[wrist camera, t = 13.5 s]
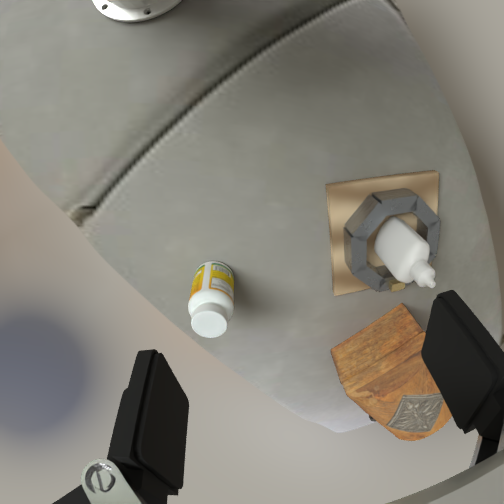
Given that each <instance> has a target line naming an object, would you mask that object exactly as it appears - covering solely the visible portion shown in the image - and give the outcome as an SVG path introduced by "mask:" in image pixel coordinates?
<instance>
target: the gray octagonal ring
mask: <svg viewBox="0 0 504 504" xmlns="http://www.w3.org/2000/svg"><path fill="white" fill-rule="evenodd" d="M371 195H372V196H371ZM371 195H370V194H369V195H368V196H367V197H366V198H365V200H364V201H363V202H362V203H361V205H360V206H359V207H358V208H357V210H356V211H355V212H354V213H353V214H352V216H351V217H350V218H349V219H348V221H347V222H346V223H345V224H344V225H345V226H346V227H343V233H344V259H345V263H346V265H347V266H348V268H349V270H350V271H351V273H352V275H353V276H355V277H356V278H358V279H359V280H361V281H362V282H363V283H365V284H366V285H368V286H369V287H371V288H372V289H374V290H375V291H379V292H380V291H385V290H389V289H390V290H391V292H394V291H398V290H402V289H405V285H409V284H410V283H411V282H410V283H403V282H400V281H398V280H397V279H396V278H395V277H394V276H393V275H392V273H391V272H390V271H389V269H388V268H387V267H386V266H385V265H383V266H378V267H375V266H374V265H372V264H371V263H370V262H368V261H367V260H366V259H367V239H368V237H369V236H370V235H371V234H372V233H373V231H374V230H375V229H376V228H377V227H378V225H379V224H380V223H381V222H382V221H383V219H384V218H385V217H386V216H389V215H395V214H401V213H406V212H411V213H412V214H413V215H414V216H415V217H416V218H417V229H416V232H417V233H418V234H419V235H420V236H421V237H422V238H423V239H424V240H425V241H426V242H427V243H428V244H429V248H430V251H429V258H428V262H427V263H428V264H430V262H431V261H432V260H433V259H434V258H435V257H436V256H435V254H437V248H438V240H439V231H440V220H439V219H440V218H439V217H438V216H437V215H436V214H435V213H434V211H433V210H432V209H431V208H430V207H429V206H428V205H427V204H426V203H425V202H424V201H423V199H422V198H421V197H420V196H418V195H417V194H416V193H414V192H413V191H411V190H410V189H407V188H399V189H392V190H385V191H379V192H372V193H371ZM413 282H414V280H413V281H412V283H413Z"/></svg>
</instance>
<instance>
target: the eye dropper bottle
mask: <svg viewBox="0 0 504 504" xmlns="http://www.w3.org/2000/svg"><path fill="white" fill-rule="evenodd" d="M374 250H375V253H376V254H377V255H378V256H379V258H380V259H381V260H382V262H383V263H384V264H385V266H386V267H387V268H388V269H389V271H390V272H391V273H392V275H393V276H394V277H395V278H396V279H397V280H398V281H400V282H403V283H410V282H412V281H413V280H415V282H416V283H417V284H418V285H419V286H420V287H426V286H429V287H430V288H434V287H435V285H436V284H435V282H434V278H435V271H434V269H433V268H432V267H431V266H430V265H429V264H428V263H427V262H428V258H429V251H430V248H429V244H428V243H427V242H426V241H425V240H424V239H423V238H422V237H421V236H420V235H419V234H418V233H417V232H416V231H415V230H413V229H412V228H411V227H410V226H409V225H408V224H407V223H406V222H405V221H403V220H402V219H400V218H398V217H395V216H392V217H390V218H389V219H387V220H386V222H385V223H384V224H383V225H382V227H381V228H380V230H379V232H378V234H377V236H376V239H375V244H374Z"/></svg>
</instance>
